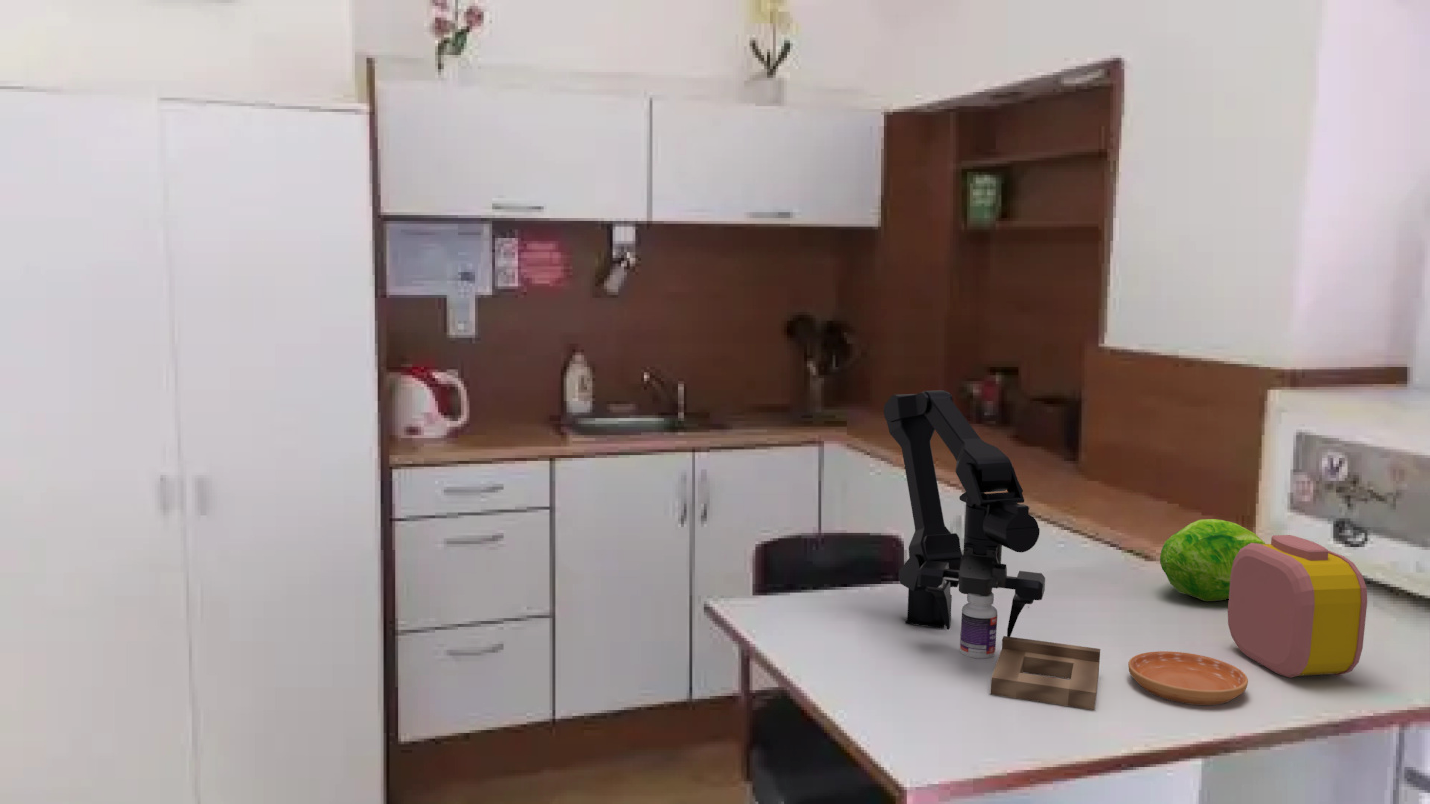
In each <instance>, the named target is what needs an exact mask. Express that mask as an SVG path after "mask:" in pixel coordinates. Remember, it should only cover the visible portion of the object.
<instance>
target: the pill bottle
mask: <svg viewBox="0 0 1430 804" xmlns="http://www.w3.org/2000/svg"><path fill="white" fill-rule="evenodd" d="M994 598H995V594H994V593H993V592H992V593H991V595H989V596H980V595H978V594H970V593H969V594H966V600H967V602H968V603H965V604H964V605H963V606H962V609H961V619H960V620H961V621H960V623H961V624H960V639H959V640H960V641H959V650H960V654H962V655H963V656H966V657H968V658H974V659H991V658H993V657H994V655H995V653H996V647H997V646H996V645H997V629H998V628H997V626H998V610H997V608H996V607H995V606H994V605H993V604H994V600H995V599H994Z"/></svg>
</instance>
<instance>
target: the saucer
mask: <svg viewBox="0 0 1430 804" xmlns="http://www.w3.org/2000/svg"><path fill="white" fill-rule="evenodd" d="M1127 664H1128V665H1127V667H1128V671H1129V674H1130V676H1131V677H1132V678H1133V680H1134V681H1135V682H1137V684H1139V686H1140V687H1141V688H1142V689H1143V690H1144V691H1147V692H1148V693H1150V694H1152V695H1155V696H1156V697H1160V698H1162V699H1165V700H1168V701H1172V702H1175V703H1176V702H1177V703H1181V704H1187V705H1197V706H1215V705H1217V706H1218V705H1221V704H1226V703H1228V702H1230V701H1232V700H1233V699H1235V698H1237V697H1239V696H1240V695H1242V694H1243V693H1244V692H1245V691H1246V689H1247V688H1248V684H1249V678H1248V677H1247V675H1246V673H1244V672H1243V671H1242V670H1241V669H1239V668H1238V667H1236V666H1234V665H1232V664H1230V663H1227V662H1226V661H1223V660H1220V659H1216V658H1213V657H1209V656H1205V655H1202V654H1201V655H1200V654H1196V653H1190V652H1182V651H1168V650H1167V651H1164V650H1163V651H1161V650H1159V651H1149V652H1142V653H1139V654H1136V655H1134V656H1132V657H1131V658H1130V659H1129V661H1128V663H1127Z"/></svg>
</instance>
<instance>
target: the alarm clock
mask: <svg viewBox="0 0 1430 804" xmlns="http://www.w3.org/2000/svg"><path fill="white" fill-rule="evenodd" d="M1270 540H1271V541H1270V543H1268V544H1267V543H1265V544H1257V543H1250V544H1248V545H1247V546H1245V547H1243V548H1242V549H1240V551H1239V552H1238V554H1237V556H1236V557H1235V559H1234V561H1233V565H1232V570H1231V578H1230V590H1229V600H1228V601H1227V602H1228V603H1227V625H1228V629H1229V632H1230V636H1231V638H1232V640H1233V641H1234V642H1233V643H1235V646H1236V647H1237V649H1239V650H1240V651H1241V652H1242V653H1243V654H1244V655H1245V656H1246V657H1248V658H1250V659H1251V660H1253V661H1254V662H1256V663H1258V664H1260V665H1261V666H1263V667H1265V668H1267V669H1269V670H1270V671H1272V672H1273V673H1276V674H1278V675H1280V676H1283V677H1286V678H1290V679H1293V678H1294V677H1297V676H1299V677H1301V676H1316V675H1319V676H1320V675H1334V676H1337V677H1338V676H1341V675H1345V674H1347V673H1351V672H1352V671H1353V670H1354V669H1355V668H1356V666H1357V665H1358V664H1359V662H1360V660H1361V656H1362V651H1363V647H1364V638H1365V629H1366V621H1367V620H1366V618H1367V608H1368V589H1367V585H1366V581H1365V579H1364V575H1362V572H1361V571H1360V570H1359V569H1358V567H1357V566H1356V565H1355V563H1354V562H1353V561H1352V560H1350V559H1348V557H1345V555H1344V556H1343V555H1341V554H1339V553H1336V552H1333V551H1331V550H1329V549H1327V548H1326V547H1325V546H1323V545H1321V544H1319V543H1316V542H1314V541H1312V540H1309V539H1307V538H1302V537H1300V536H1295V535H1292V534H1291V535H1290V534H1280V535H1279V534H1275V535H1271V538H1270Z"/></svg>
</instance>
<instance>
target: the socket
mask: <svg viewBox="0 0 1430 804" xmlns="http://www.w3.org/2000/svg"><path fill="white" fill-rule="evenodd" d="M1100 659H1101V649H1100V648H1095V647H1088V646H1082V645H1081V646H1080V645H1074V644H1066V643H1058V642H1049V641H1046V640H1045V641H1044V640H1038V639H1037V640H1036V639H1029V638H1022V637H1021V638H1020V637H1015V636H1014V637H1013V636H1010V637H1008V636H1007V635H1006V636H1005V635H1003V637H1002V641H1001V650H1000V652H999V655H998V658H997V661H996V663H995V666H994V668H993V669H994V670H993V672H992V673H991V674H992V675H991V678H990V695H993V696H1000V697H1005V698H1010V699H1011V698H1012V699H1018V700H1025V701H1030V702H1031V701H1033V702H1037V701H1038V702H1037V703H1045V704H1051V705H1057V704H1060V705H1059V706H1064V707H1071V708H1078V709H1085V710H1090V711H1096V710H1095V709H1096V701H1097V692H1098V684H1099V674H1100Z"/></svg>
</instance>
